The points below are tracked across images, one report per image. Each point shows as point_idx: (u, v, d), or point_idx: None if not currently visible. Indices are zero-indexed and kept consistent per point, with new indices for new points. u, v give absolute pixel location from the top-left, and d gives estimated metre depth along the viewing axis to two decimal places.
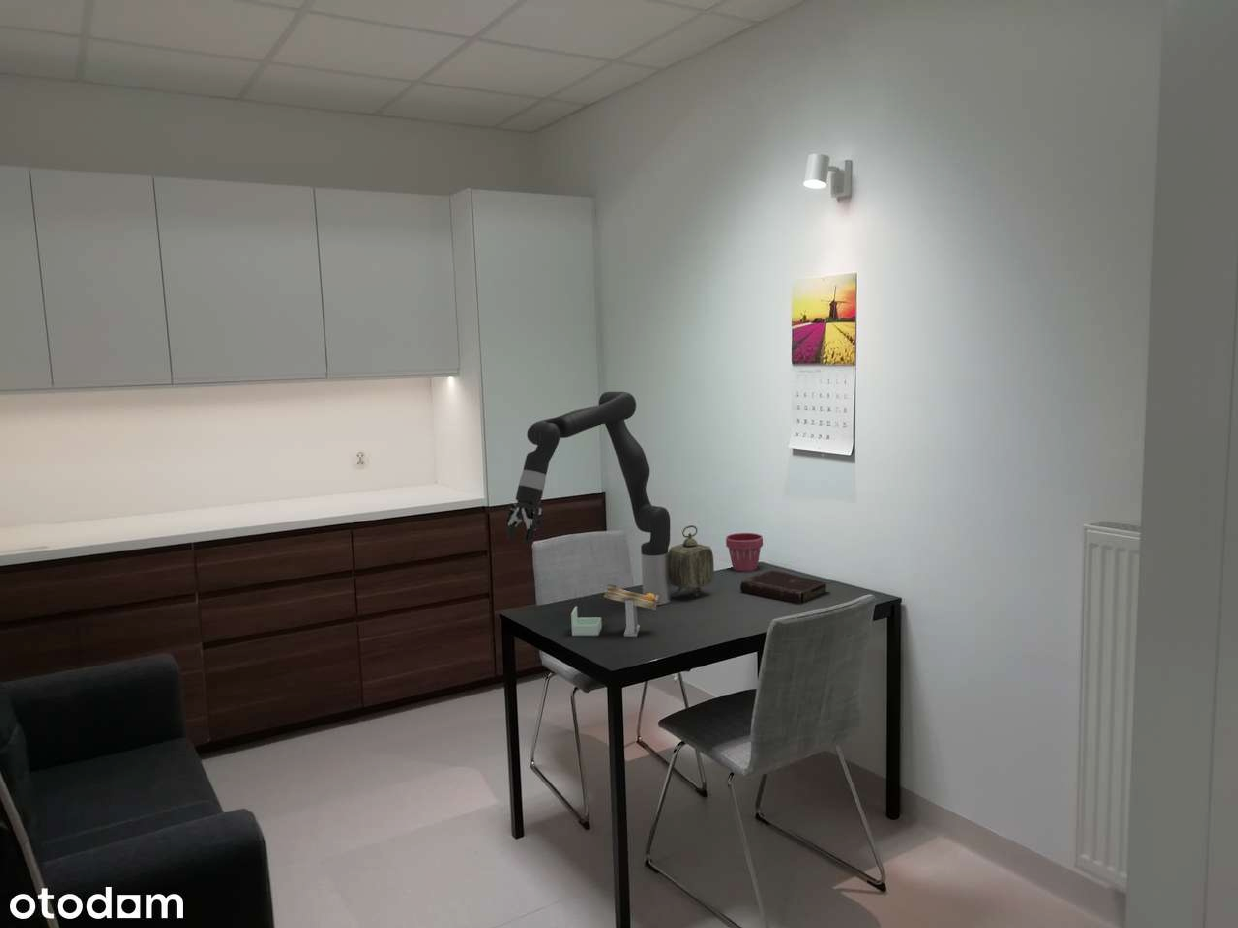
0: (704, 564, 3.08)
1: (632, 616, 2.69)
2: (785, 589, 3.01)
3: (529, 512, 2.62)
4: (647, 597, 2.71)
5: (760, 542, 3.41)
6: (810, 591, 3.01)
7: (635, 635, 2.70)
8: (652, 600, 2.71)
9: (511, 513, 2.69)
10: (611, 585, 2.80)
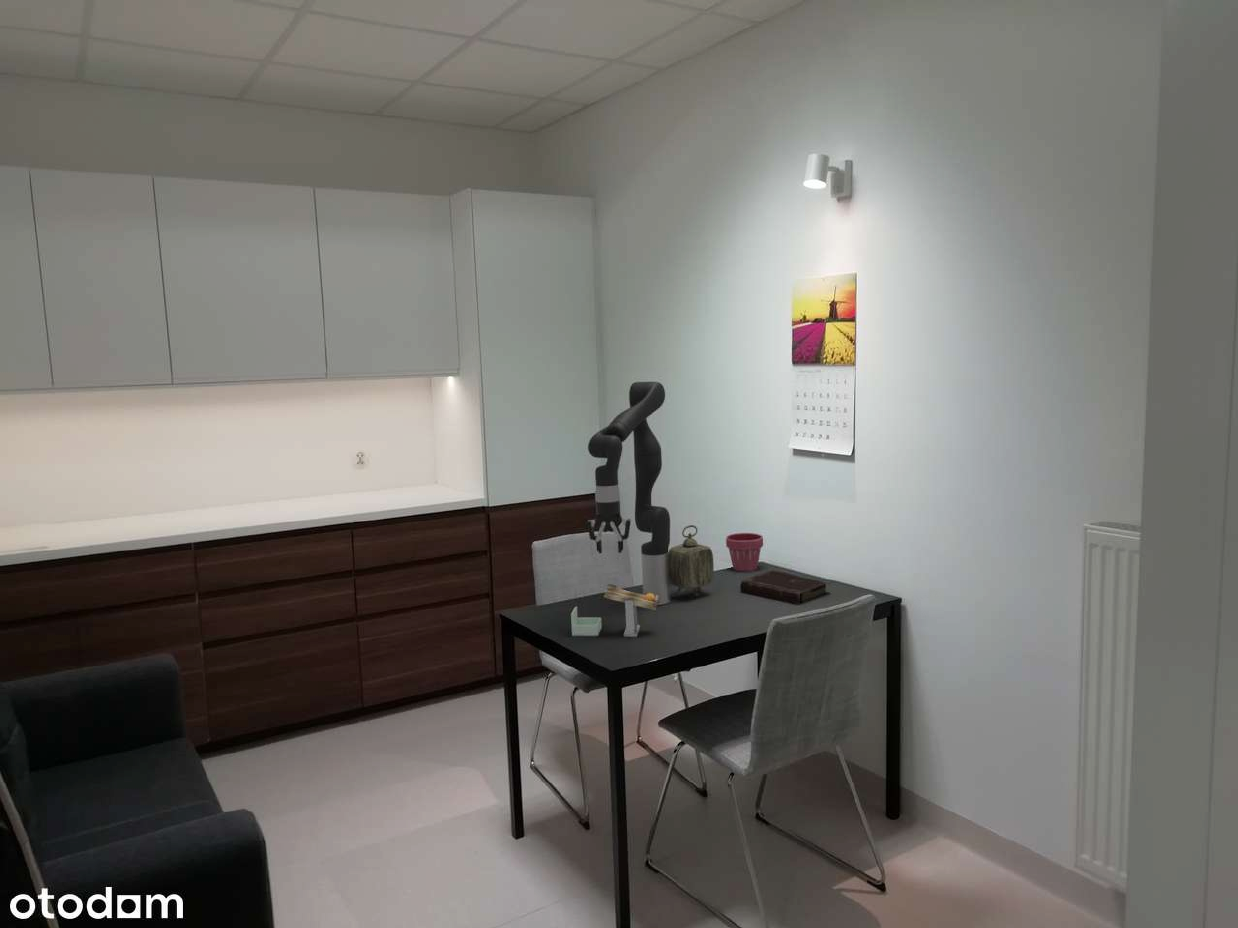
0: (704, 564, 3.08)
1: (632, 616, 2.69)
2: (784, 589, 3.01)
3: (618, 525, 2.77)
4: (647, 597, 2.71)
5: (760, 542, 3.41)
6: (809, 591, 3.01)
7: (635, 635, 2.70)
8: (652, 600, 2.71)
9: (592, 529, 2.78)
10: (611, 585, 2.80)
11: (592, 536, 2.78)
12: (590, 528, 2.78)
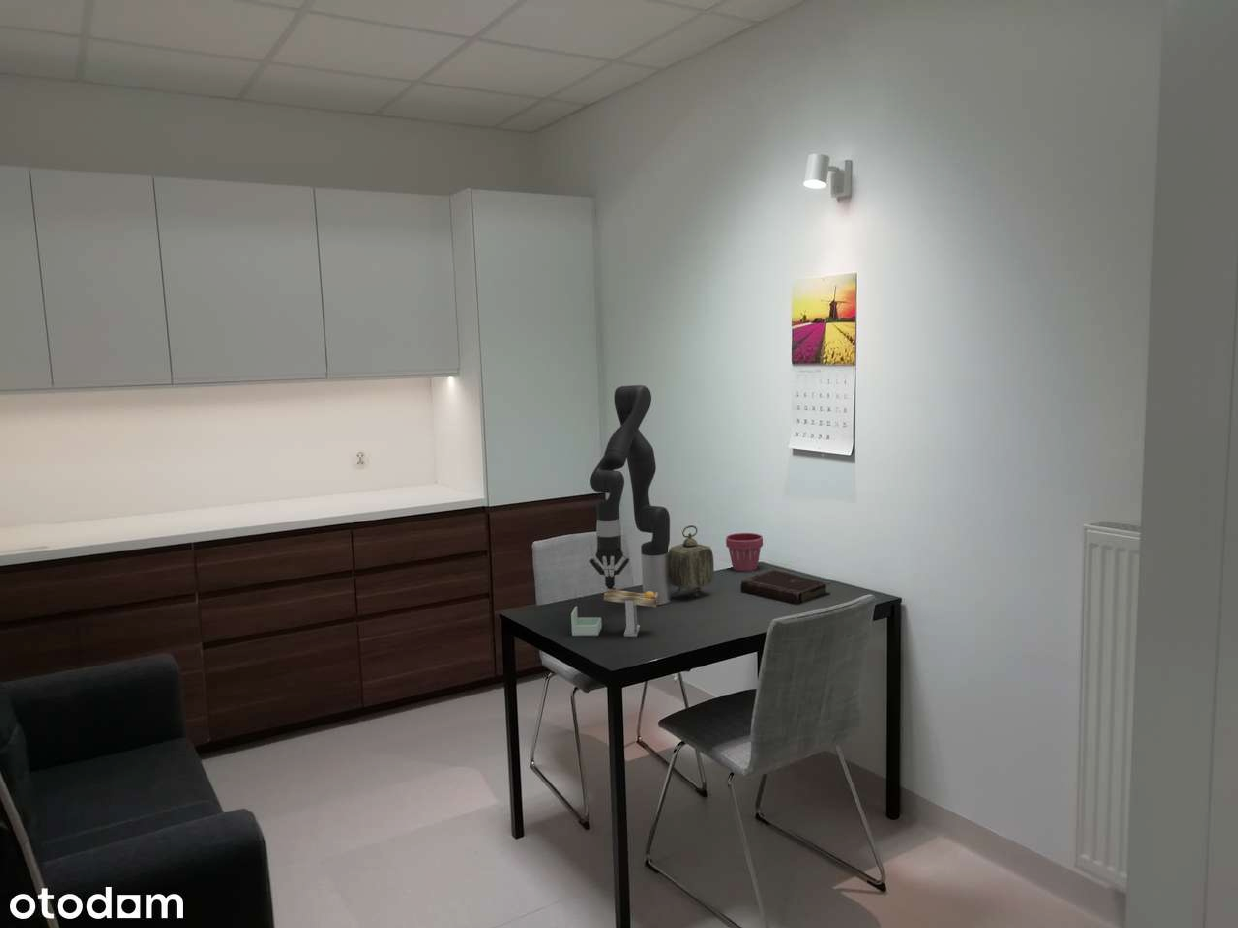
0: (704, 564, 3.08)
1: (632, 616, 2.69)
2: (784, 589, 3.01)
3: (617, 562, 2.78)
4: (646, 595, 2.71)
5: (760, 542, 3.41)
6: (809, 591, 3.00)
7: (635, 635, 2.70)
8: (652, 597, 2.71)
9: (597, 565, 2.80)
10: None
11: (600, 571, 2.79)
12: (595, 565, 2.79)
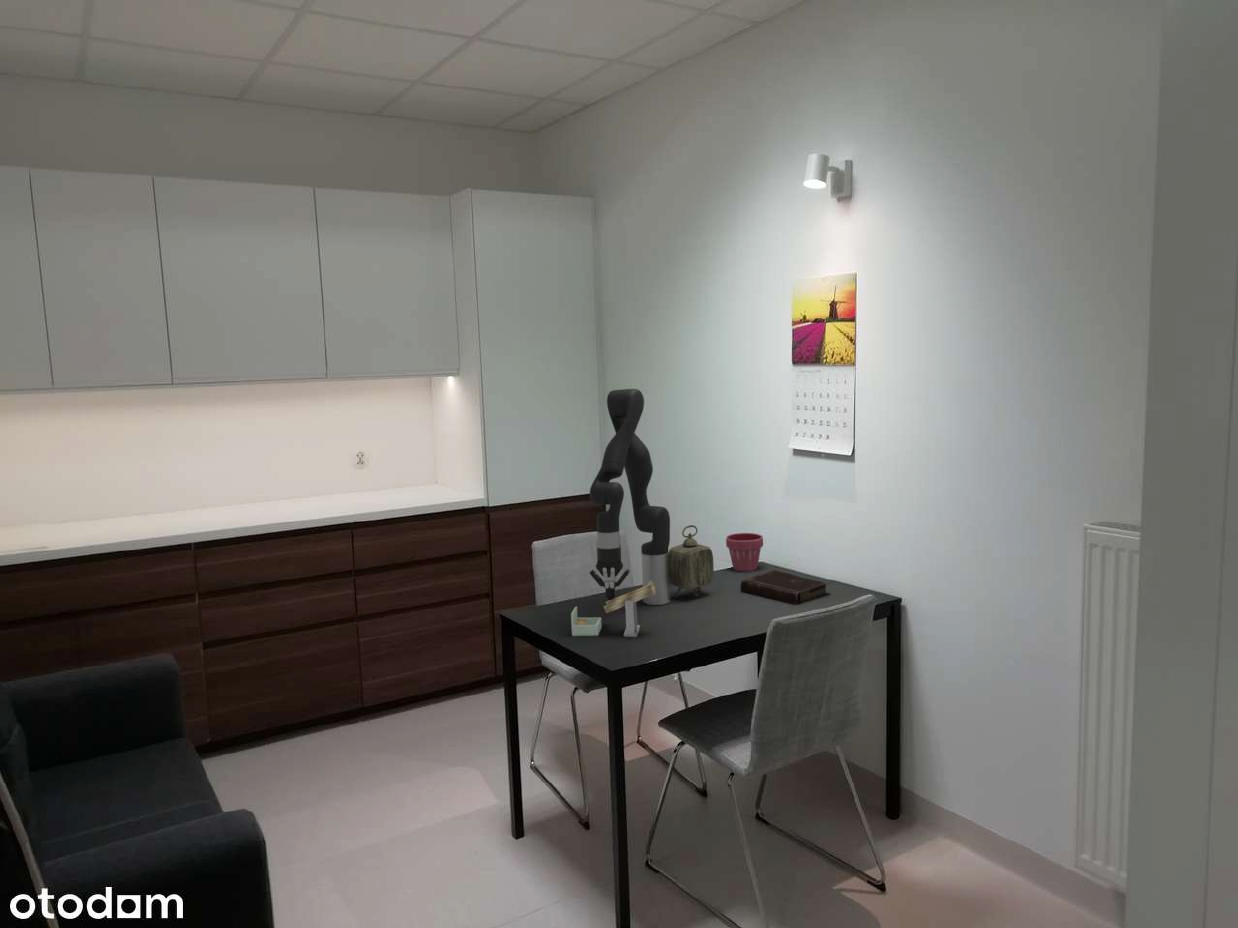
0: (704, 564, 3.08)
1: (632, 616, 2.69)
2: (783, 589, 3.01)
3: (617, 573, 2.79)
4: None
5: (760, 542, 3.41)
6: (808, 591, 3.00)
7: (635, 635, 2.70)
8: None
9: (598, 576, 2.80)
10: None
11: (601, 583, 2.79)
12: (595, 576, 2.79)
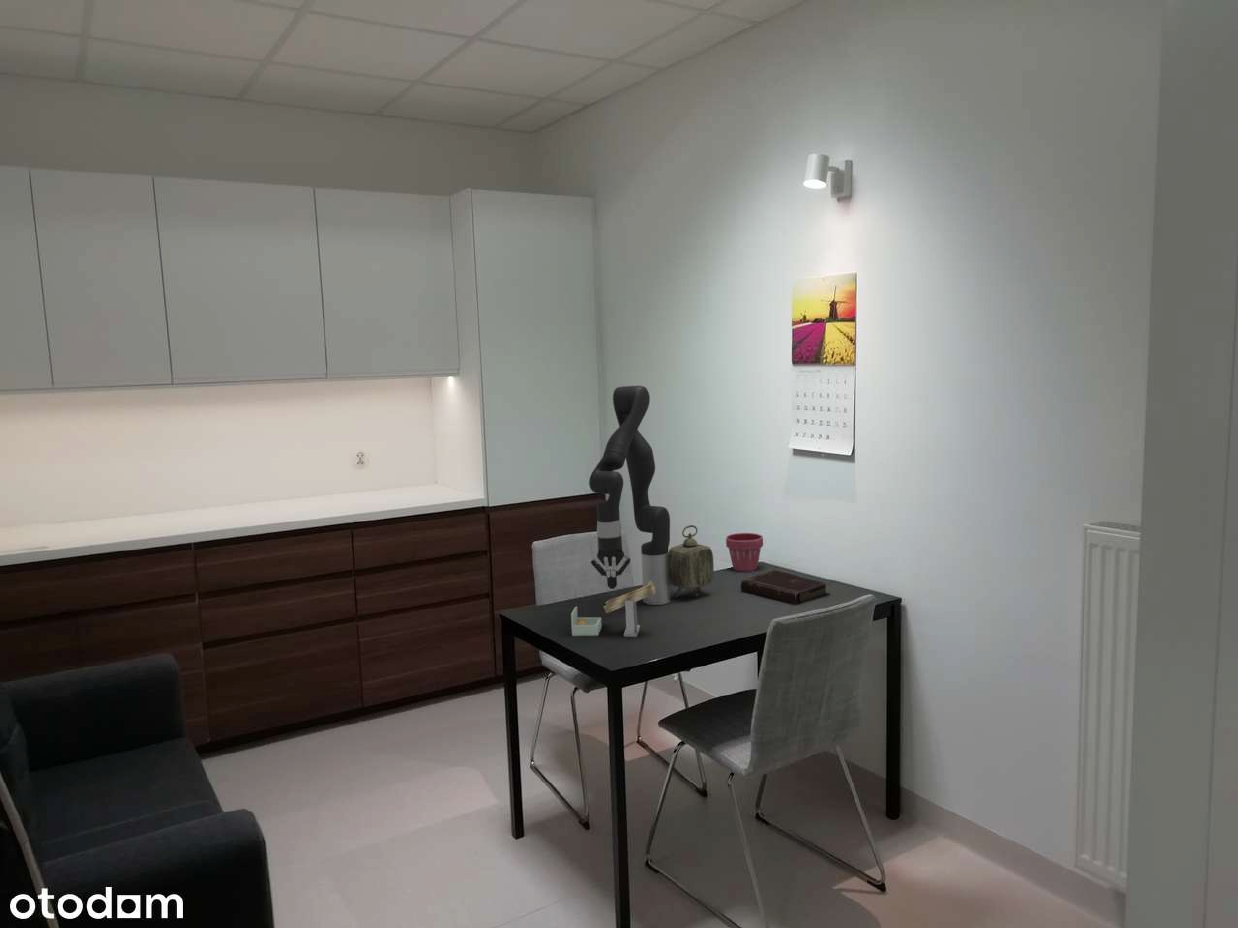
0: (704, 564, 3.08)
1: (632, 616, 2.69)
2: (783, 589, 3.01)
3: (618, 562, 2.78)
4: None
5: (760, 542, 3.41)
6: (808, 592, 3.00)
7: (635, 635, 2.70)
8: None
9: (599, 566, 2.80)
10: (611, 599, 2.81)
11: (602, 572, 2.79)
12: (597, 566, 2.79)
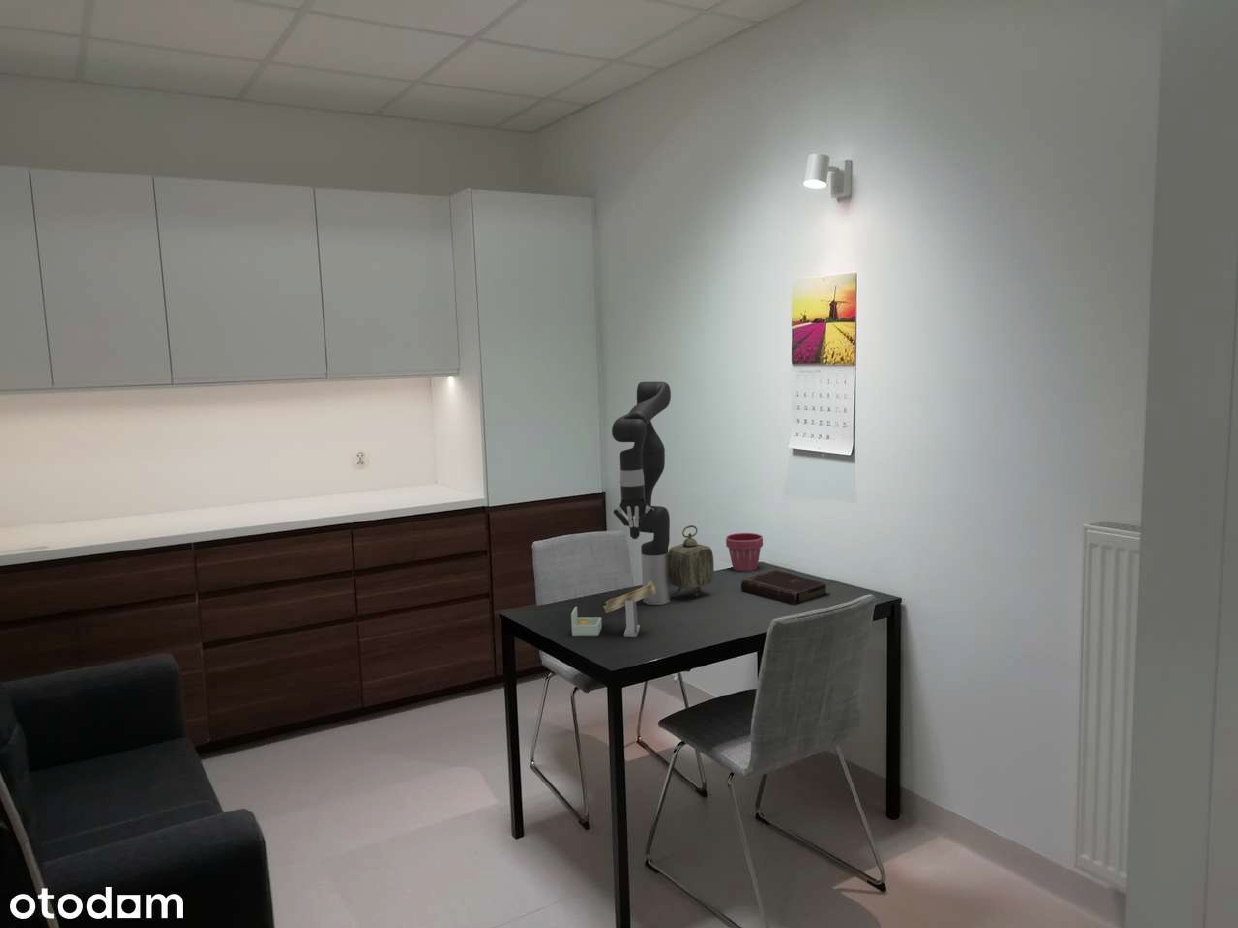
0: (704, 564, 3.08)
1: (632, 616, 2.69)
2: (782, 589, 3.01)
3: (641, 512, 2.76)
4: None
5: (760, 542, 3.41)
6: (807, 592, 3.00)
7: (635, 635, 2.70)
8: (580, 624, 2.75)
9: (622, 515, 2.77)
10: (611, 599, 2.81)
11: (625, 522, 2.76)
12: (619, 515, 2.76)
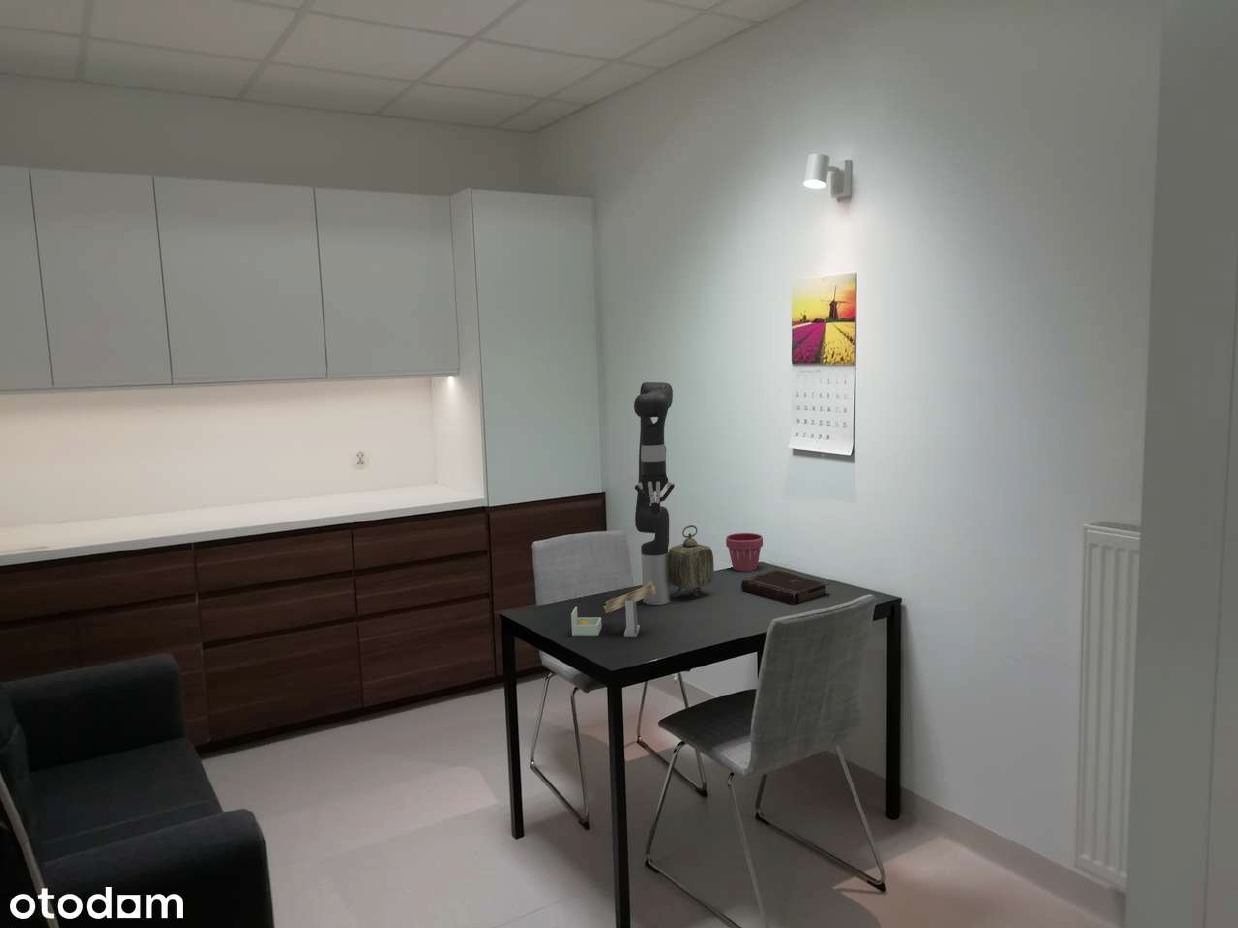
0: (704, 564, 3.08)
1: (632, 616, 2.69)
2: (782, 589, 3.01)
3: (662, 487, 2.75)
4: None
5: (760, 542, 3.41)
6: (807, 592, 3.00)
7: (635, 635, 2.70)
8: (582, 624, 2.75)
9: (642, 491, 2.76)
10: (611, 599, 2.81)
11: (646, 497, 2.75)
12: (640, 491, 2.75)
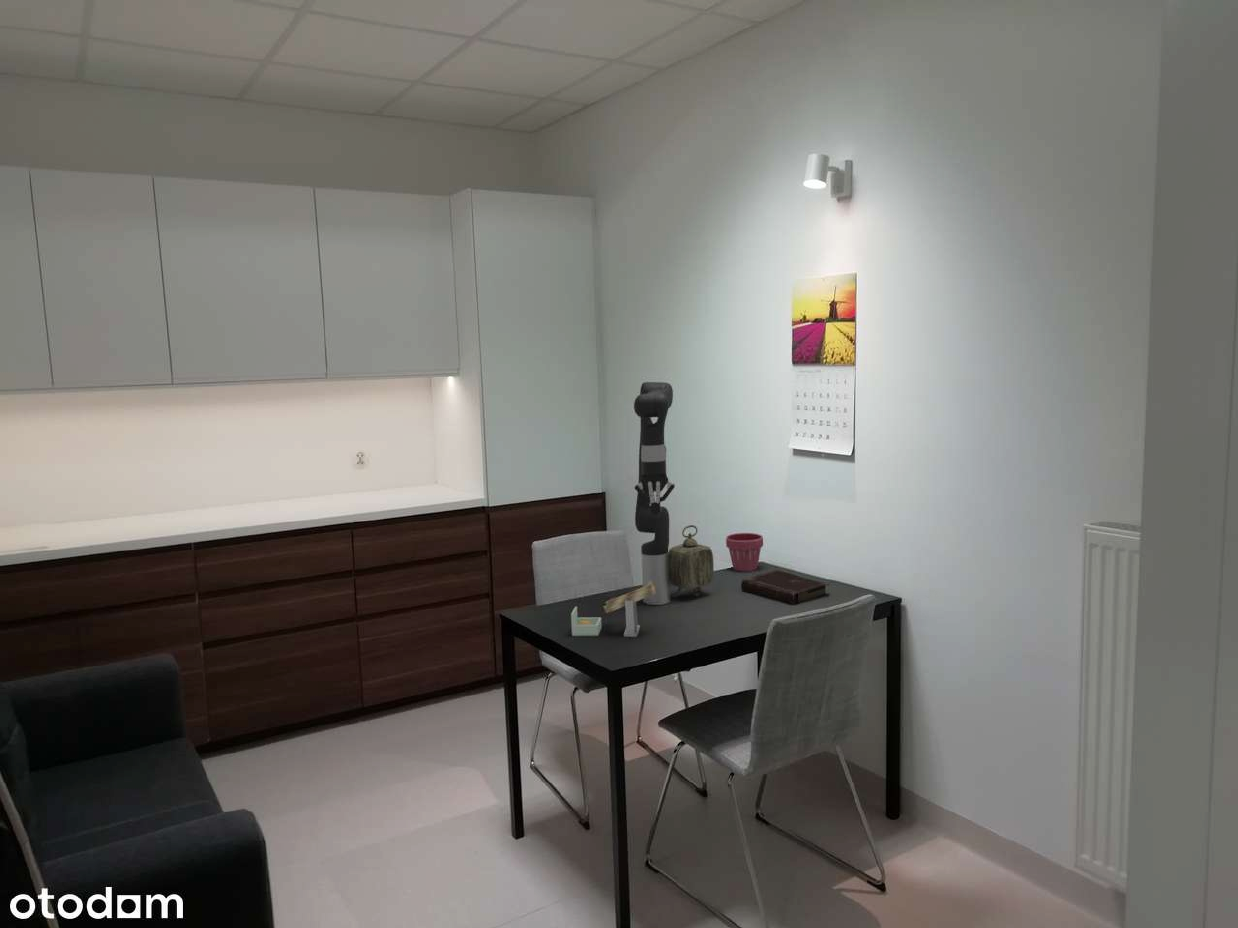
0: (704, 564, 3.08)
1: (632, 616, 2.69)
2: (781, 589, 3.01)
3: (662, 487, 2.75)
4: None
5: (760, 542, 3.41)
6: (807, 592, 3.00)
7: (635, 635, 2.70)
8: (583, 624, 2.75)
9: (642, 491, 2.76)
10: (611, 599, 2.81)
11: (646, 497, 2.75)
12: (640, 491, 2.75)
